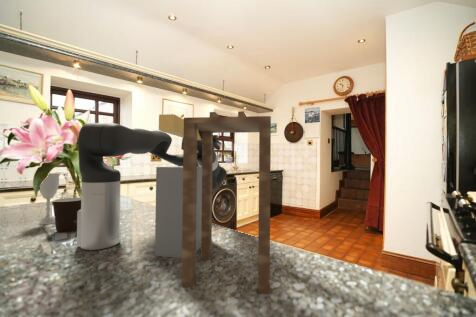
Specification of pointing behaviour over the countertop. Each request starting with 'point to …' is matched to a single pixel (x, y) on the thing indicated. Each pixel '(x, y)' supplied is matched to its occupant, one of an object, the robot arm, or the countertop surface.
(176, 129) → the yellow bar
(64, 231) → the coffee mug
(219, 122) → the stool
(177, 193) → the block
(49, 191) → the chalice
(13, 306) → the countertop surface
